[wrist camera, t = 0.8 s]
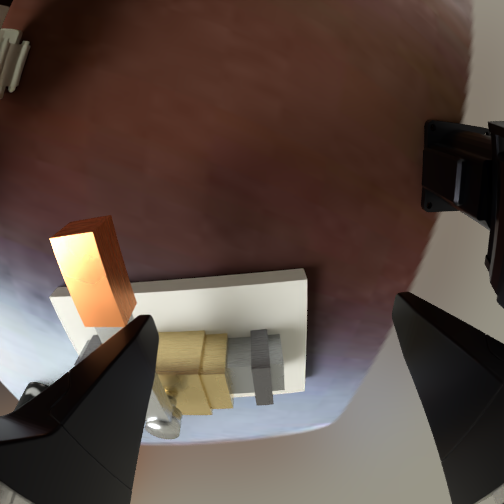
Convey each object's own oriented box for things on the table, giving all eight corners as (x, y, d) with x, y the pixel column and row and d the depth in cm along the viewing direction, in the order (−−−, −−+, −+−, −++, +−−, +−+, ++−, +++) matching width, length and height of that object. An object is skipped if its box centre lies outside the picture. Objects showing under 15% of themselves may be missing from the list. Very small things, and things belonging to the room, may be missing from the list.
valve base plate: (303, 268, 21) (307, 279, 20) (302, 379, 26) (304, 391, 25) (57, 287, 21) (49, 296, 20) (106, 382, 27) (102, 393, 25)
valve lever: (187, 408, 19) (182, 441, 16) (158, 407, 19) (151, 439, 16) (119, 207, 12) (92, 231, 10) (80, 214, 12) (49, 238, 10)
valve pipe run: (279, 324, 21) (285, 368, 17) (281, 368, 23) (286, 410, 20) (83, 332, 22) (63, 368, 18) (104, 371, 24) (89, 406, 20)
